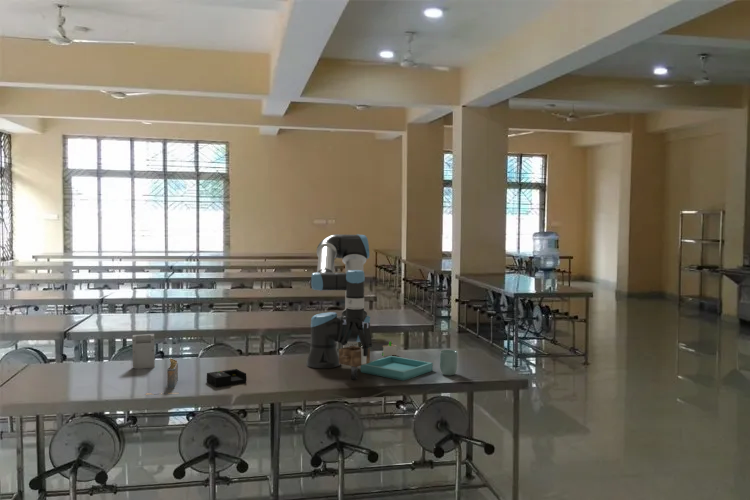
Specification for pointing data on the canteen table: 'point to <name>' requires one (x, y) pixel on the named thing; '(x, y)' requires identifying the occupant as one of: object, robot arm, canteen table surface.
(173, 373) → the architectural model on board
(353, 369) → the stake
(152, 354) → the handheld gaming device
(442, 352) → the cup
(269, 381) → the canteen table surface
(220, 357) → the canteen table surface
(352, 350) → the wooden box
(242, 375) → the battery charger
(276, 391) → the canteen table surface
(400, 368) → the tray
